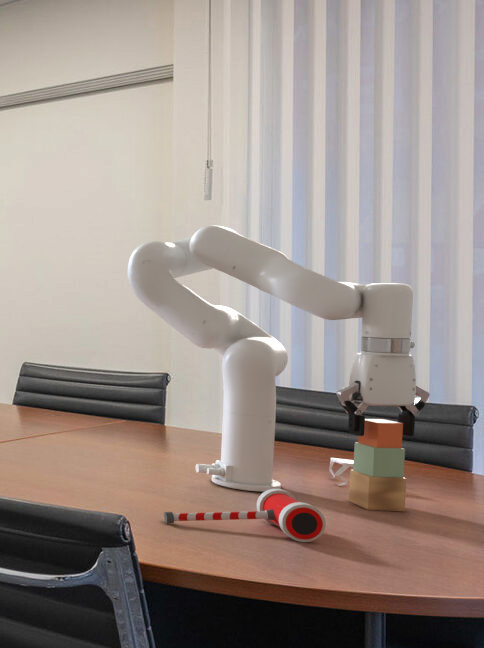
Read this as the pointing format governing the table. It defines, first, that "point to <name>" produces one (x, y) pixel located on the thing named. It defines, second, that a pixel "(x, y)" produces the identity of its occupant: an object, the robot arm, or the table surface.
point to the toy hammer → (271, 515)
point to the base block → (377, 492)
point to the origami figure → (345, 465)
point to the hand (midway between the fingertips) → (380, 434)
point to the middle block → (379, 461)
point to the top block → (382, 433)
